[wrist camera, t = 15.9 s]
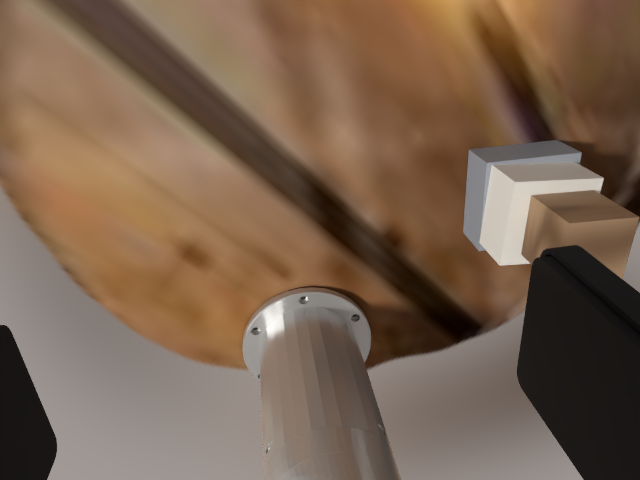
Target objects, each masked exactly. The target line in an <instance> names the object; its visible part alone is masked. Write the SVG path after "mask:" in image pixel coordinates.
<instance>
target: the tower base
mask: <svg viewBox="0 0 640 480" xmlns="http://www.w3.org/2000/svg"><path fill="white" fill-rule="evenodd" d="M581 154H582V152H580V151H578V150H576V149H574V148H572V147H570V146H568V145H566V144H564V143H562V142H560V141H558V140H553V141H544V142H534V143H525V144H516V145H506V146H497V147H488V148H478V149H469V157H468V171H467V186H466V200H465V214H464V229H463V233H464V234H465V235H466V236H467V238H468V239H469V240H470V241H471V242H472V243H473V244H474V246H475V247H476V248H477V249H478V250H479V251H483V250H485V249H484V247H483V246H482V245H481V244H480V243H479V241H480V235H481V229H482V223H483V217H484V210H485V204H486V198H487V192H488V186H489V179H490V173H491V167H492V165H497V164H521V163H546V162H571V161H574V162H576V163H577V164H579V165H580V160H581Z"/></svg>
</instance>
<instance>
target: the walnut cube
mask: <svg viewBox="0 0 640 480" xmlns="http://www.w3.org/2000/svg"><path fill="white" fill-rule="evenodd" d="M638 221H639V216H637V215H635V214H634V213H632V212H630V211H628V210H627V209H625V208H623V207H622V206H620V205H618V204H617V203H615V202H613V201H612V200H610V199H608V198H607V197H605V196H603V195H602V194H600V193H598V192H596V191H595V190H588V191H575V192H563V193H551V194H539V195H531V199H530V205H529V211H528V217H527V222H526V228H525V234H524V240H523V246H522V252H521V255H522V256H523V257H524V258H525V259H526V260H527V261H529V262H530V263H531V264H533V261H534V259H536V258H537V257H540V255H541V253H542V252H543V250H545V249H547V248H555V247H563V246H571V245H578V246H580V247H582V248H583V249H585V250H586V251H587V252H588V253H590V254H591V255H592V256H593V257H595V258H596V259H597V260H598V261H600V262H601V263H602V264H604V265H605V266H606V267H607V268H609V269H610V270H611V271H612V272H614V273H615V274H616V275H617V276H619V277H620V278H621V279H622V278H623V274H624V271H625V267H626V264H627V260H628V257H629V253H630V249H631V246H632V242H633V239H634V235H635V231H636V228H637V224H638Z"/></svg>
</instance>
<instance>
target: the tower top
mask: <svg viewBox="0 0 640 480" xmlns="http://www.w3.org/2000/svg"><path fill="white" fill-rule="evenodd" d="M603 180H604V178H603V177H601V176H599V175H597V174H596V173H594V172H592V171H590V170H588V169H587V168H585V167H583V166H581V165H579V164H577V163H576V162H574V161H571V162H546V163H521V164H497V165H492V167H491V173H490V179H489V186H488V192H487V198H486V204H485V210H484V217H483V223H482V229H481V235H480V241H479V243H480V244H481V245H482V246H483V247H484V249H485V250H486V251H487V252H488V253H489V254H490V255H491V256H492V257H493V259H494V260H495V261H496V262H497V263H498V264H499V265H500V266H501V265H516V264H531V263H530V262H529V261H527V260H526V259H525V258H524V257H523V256H522V255H521V252H522V246H523V240H524V234H525V228H526V222H527V217H528V211H529V205H530V199H531V195H539V194H551V193H563V192H575V191H588V190H595V191H596V192H598V193H600V191H601V188H602V184H603Z"/></svg>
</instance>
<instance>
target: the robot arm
mask: <svg viewBox="0 0 640 480" xmlns="http://www.w3.org/2000/svg"><path fill="white" fill-rule="evenodd" d="M303 296H304V297H303ZM371 339H372V338H371V331H370V327H369V324H368V321H367V318H366V317H365V315H364V313H363V311H362V310H361V309H360V307H359V306H358V305H357V304H356V303H355V302H354V301H352V300H351V299H350V298H348V297H347V296H345V295H343V294H341V293H339V292H336V291H333V290H329V289H325V288H314V287H309V288H298V289H294V290H290V291H286V292H284V293H282V294H279V295H277V296H275V297H273V298H272V299H270V300H269V301H267V302H266V303H264V304H263V305H262V306H261V307H260V308H259V309H258V310H257V311H256V312H255V313H254V314H253V316H252V317H251V319H250V320H249V322H248V324H247V326H246V329H245V331H244V336H243V356H244V361H245V364H246V366H247V368H248V370H249V372H250V373H251V374H252V376H253V377H254V378H255V379H256V380H257V381H258V382H260V383H261V405H262V430H263V452H264V476H265V480H401V478H400V475H399V471H398V468H397V465H396V462H395V459H394V456H393V452H392V449H391V446H390V443H389V439H388V437H387V433H386V430H385V427H384V424H383V420H382V417H381V414H380V411H379V408H378V405H377V402H376V398H375V395H374V392H373V389H372V386H371V382H370V380H369V376H368V373H367V370H366V367H365V361H366V359H367V358H368V355H369V352H370V348H371ZM517 376H518V380H519V384H520V386H521V388H522V390H523V391H524V393H525V394H526V396H527V397H528V399H529V400H530V401H531V403H532V404H533V406H534V407H535V409H536V410H537V412H538V413H539V414H540V416H541V418H542V419H543V420H544V422H545V423H546V425H547V426H548V428H549V429H550V431H551V432H552V434H553V435H554V437H555V438H556V439H557V441H558V443H559V444H560V445H561V447H562V448H563V450H564V451H565V453H566V454H567V456H568V457H569V459H570V460H571V462H572V463H573V465H574V466H575V467H576V469H577V470H578V472H579V473H580V475H581V476H582V478H583V479H584V480H640V293H639V292H638V291H636V290H635V289H634V288H633V287H631V286H630V285H629V284H628V283H626V282H625V281H624V280H622V279H621V278H620V277H619V276H617V275H616V274H615V273H614V272H612V271H611V270H610V269H609V268H607V267H606V266H605V265H604V264H602V263H601V262H600V261H598V260H597V259H596V258H595V257H593V256H592V255H591V254H590V253H588V252H587V251H586V250H585V249H583V248H582V247H580V246H578V245H571V246H563V247H555V248H547V249H545V250H543V252H542V253H541V255H540V257H537V258H536V259H534V261H533V264H532V269H531V276H530V283H529V289H528V296H527V303H526V310H525V317H524V325H523V332H522V339H521V345H520V352H519V359H518V366H517ZM56 452H57V442H56V437H55V434H54V432H53V429H52V427H51V425H50V422H49V420H48V418H47V416H46V413H45V410H44V408H43V406H42V403H41V401H40V399H39V397H38V394H37V392H36V389H35V387H34V384H33V382H32V380H31V377H30V375H29V373H28V370H27V368H26V366H25V363H24V361H23V358H22V356H21V354H20V351H19V349H18V346H17V344H16V342H15V339H14V337H13V335H12V332H11V331H10V329H9V328H8V327H7V326H5V325H0V480H47V478H48V476H49V473H50V471H51V468H52V466H53V463H54V460H55V457H56Z"/></svg>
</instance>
